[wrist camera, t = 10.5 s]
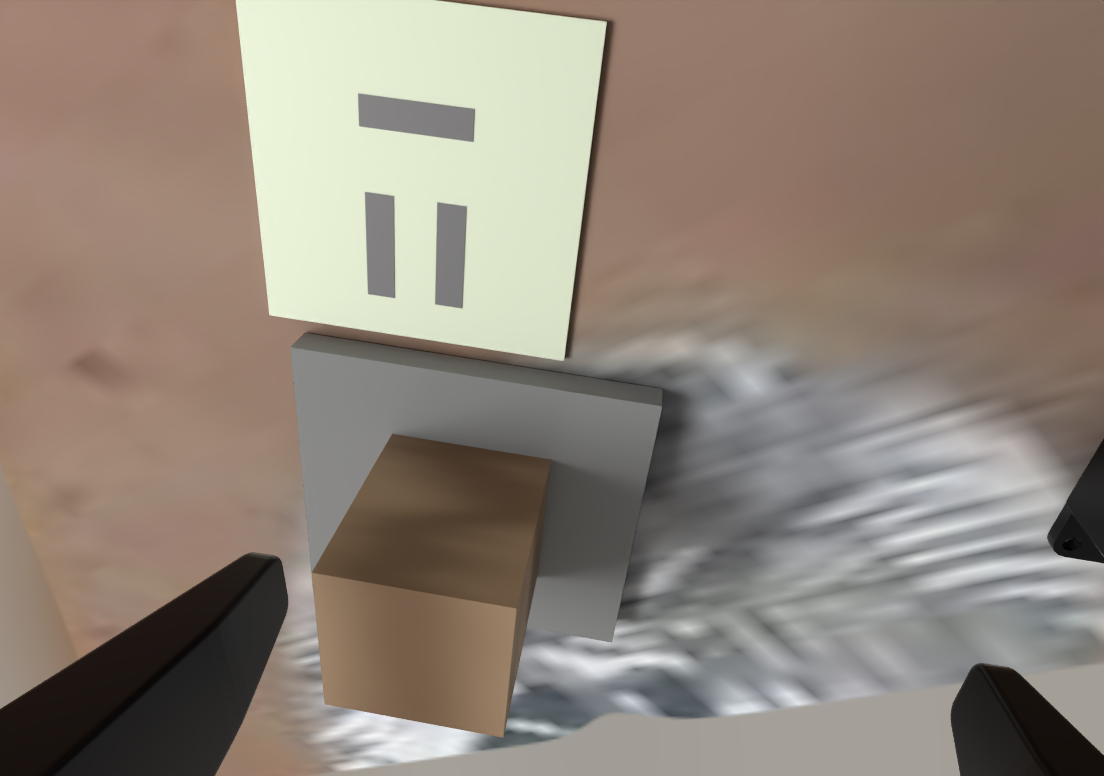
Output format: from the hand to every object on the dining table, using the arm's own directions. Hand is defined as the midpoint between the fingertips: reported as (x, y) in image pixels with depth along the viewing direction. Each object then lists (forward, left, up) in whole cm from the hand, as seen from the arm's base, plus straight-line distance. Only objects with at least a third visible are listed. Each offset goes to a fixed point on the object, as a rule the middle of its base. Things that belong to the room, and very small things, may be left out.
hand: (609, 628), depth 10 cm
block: (+4, +8, -11) cm, 15 cm away
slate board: (+4, +8, -12) cm, 16 cm away
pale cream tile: (+6, -2, -12) cm, 14 cm away
